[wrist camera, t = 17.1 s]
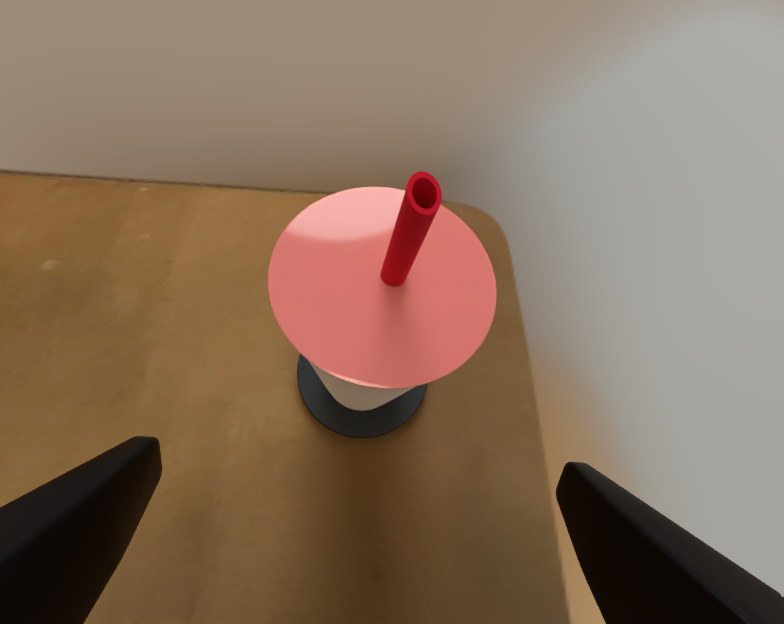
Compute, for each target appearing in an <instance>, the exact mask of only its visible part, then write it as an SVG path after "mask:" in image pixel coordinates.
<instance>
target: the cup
mask: <svg viewBox="0 0 784 624" xmlns="http://www.w3.org/2000/svg"><path fill="white" fill-rule="evenodd" d="M441 200H442V195H441V189H440V186H439V184H438V182H437V180H436V179H435V178H434V177H433V176H432V175H430V174H429V173H426V172H417V173H415V174H413V175H412V176H411V178H410V179H409V181H408V184H407V188H406V191H405V190H400V189H394V188H387V187H361V188H354V189H348V190H344V191H340V192H337V193H334V194H331V195H329V196H326V197H324V198H322V199H320V200H318V201H316V202H315V203H313V204H311V205H310V206H308V207H307V208H306V209H304V210H303V211H302V212H300V213H299V214H298V215H297V216H296V217H295V218H294V219H293V220H292V221H291V222H290V223H289V225H288V226H287V227H286V228H285V230H284V231H283V233H282V234H281V236H280V238H279V239H278V241H277V243H276V245H275V248H274V250H273V253H272V256H271V260H270V265H269V272H268V290H269V297H270V302H271V306H272V309H273V312H274V315H275V317H276V319H277V322H278V324H279V326H280V327H281V329H282V331H283V332H284V334H285V335H286V337H287V338H288V340H289V341H290V342H291V343H292V345H293V346H294V347H295V348H296V349H297V350H298V351H299V352H300V353H301V354H302V355H303V356H304V357H305V358H306V359H308V361H309V362H310V364H311V365H312V367H313V368H314V370H315V371H316V373H317V374H318V376H319V378H320V379H321V381H322V382H323V384H324V385H325V387H326V388H327V389H328V391H329V392H330V393H331V395H332V396H333V397H334V398H335V399H336V400H337V401H338V402H339V403H340V404H342V405H343V406H345V407H347V408H350V409H354V410H361V411H363V410H371V409H374V408H377V407H379V406H381V405H383V404H385V403H387V402H389V401H391V400H393V399H395V398H396V397H398V396H400V395H402V394H403V393H405V392H407V391H409V390H410V389H412V388H414V387H415V386H418V385H422V384H426V383H429V382H432V381H434V380H437V379H439V378H441V377H443V376H445V375H447V374H449V373H451V372H452V371H454V370H455V369H457V368H458V367H460V366H461V365H462V364H463V363H465V362H466V361H467V360H468V359H469V358H470V357H471V356H472V355H473V354H474V353H475V352H476V350H477V349H478V348H479V346H480V345H481V344H482V342H483V341H484V339H485V337H486V335H487V333H488V331H489V329H490V326H491V324H492V321H493V317H494V313H495V308H496V281H495V276H494V272H493V268H492V265H491V262H490V260H489V257H488V255H487V253H486V251H485V249H484V247H483V246H482V244H481V242H480V241H479V239H478V238H477V237H476V235H475V234H474V233H473V231H472V230H471V229H470V228H469V227H468V226H467V225H466V224H465V223H464V222H463V221H462V220H461V219H460V218H459V217H457V216H456V215H455V214H454V213H452V212H451V211H450V210H448V209H447V208H445V207H444V206H442V205H440V204H441Z"/></svg>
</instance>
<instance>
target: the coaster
mask: <svg viewBox="0 0 784 624" xmlns="http://www.w3.org/2000/svg"><path fill="white" fill-rule="evenodd" d="M297 378H298V385H299V390H300V393H301V396H302V399H303V401H304V403H305V405H306V407H307V408H308V410H309V411H310V412H311V414H312V415H313V416H314V417H315V418H316V419H317V420H318V421H319V422H320V423H321V424H323V425H324V426H325V427H327V428H328V429H330V430H332V431H334V432H336V433H338V434H341V435H344V436H348V437H354V438H371V437H377V436H380V435H384V434H386V433H389V432H391V431H393V430H395V429H396V428H398V427H399V426H401V425H402V424H403V423H405V422H406V421H407V420H408V419H409V418H410V417H411V416H412V415H413V414H414V412H415V411H416V410H417V408H418V407H419V405H420V403H421V401H422V399H423V396H424V393H425V391H426V386H427V383H426V384H422V385H418V386H415V387H414V388H412V389H410V390H409V391H407V392H405V393H403V394H402V395H400V396H398V397H396V398H395V399H393V400H391V401H389V402H387V403H385V404H383V405H381V406H379V407H377V408H374V409H371V410H363V411H361V410H354V409H350V408H347V407H345V406H343V405H342V404H340V403H339V402H338V401H337V400H336V399H335V398H334V397H333V396H332V395H331V393H330V392H329V391H328V389H327V388H326V387H325V385H324V384H323V382H322V381H321V379H320V378H319V376H318V374H317V373H316V371H315V370H314V368H313V367H312V365H311V364H310V362H309V361H308V359H306V358H305V357H304V356H303V355H302V354H300V357H299V361H298V369H297Z"/></svg>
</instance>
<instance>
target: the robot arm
mask: <svg viewBox="0 0 784 624" xmlns="http://www.w3.org/2000/svg"><path fill="white" fill-rule="evenodd" d="M161 473H162V463H161V454H160V444H159V441H158V439H157V438H155V437H145V436H136V437H133V438H131V439H129V440H127V441H125V442H123V443H121V444H119V445H117V446H115V447H114V448H112V449H110V450H108V451H106V452H104V453H102V454H100V455H98V456H97V457H95V458H93V459H91V460H89V461H87V462H85V463H83V464H82V465H80V466H78V467H76V468H74V469H72V470H70V471H68V472H66V473H65V474H63V475H61V476H59V477H57V478H55V479H53V480H51V481H49V482H48V483H46V484H44V485H42V486H40V487H38V488H36V489H34V490H32V491H31V492H29V493H27V494H25V495H23V496H21V497H19V498H17V499H15V500H14V501H12V502H10V503H8V504H6V505H4V506H2V507H0V624H83V623H84V622H85V620H86V618H87V617H88V615H89V613H90V612H91V610H92V608H93V607H94V605H95V603H96V602H97V600H98V598H99V597H100V595H101V593H102V591H103V590H104V588H105V586H106V585H107V583H108V581H109V580H110V578H111V576H112V575H113V573H114V571H115V570H116V568H117V566H118V564H119V563H120V561H121V559H122V557H123V555H124V553H125V551H126V549H127V547H128V545H129V543H130V541H131V539H132V537H133V535H134V533H135V531H136V529H137V526H138V524H139V522H140V520H141V518H142V516H143V514H144V512H145V510H146V508H147V505H148V503H149V501H150V499H151V497H152V495H153V493H154V491H155V489H156V487H157V484H158V482H159V480H160V477H161ZM556 497H557V501H558V504H559V507H560V510H561V513H562V515H563V518H564V521H565V524H566V527H567V530H568V533H569V535H570V538H571V541H572V544H573V547H574V550H575V552H576V555H577V558H578V561H579V563H580V566H581V568H582V571H583V573H584V576H585V578H586V580H587V583H588V585H589V587H590V589H591V592H592V594H593V596H594V598H595V600H596V603H597V605H598V607H599V609H600V611H601V614H602V616H603V618H604V620H605V622H606V624H784V597H782V596H781V595H780V593H778V592H777V591H776V590H774V589H773V588H771V587H769V586H768V585H766V584H765V583H764V582H762V581H761V580H759V579H757V578H756V577H755V576H753V575H752V574H750V573H749V572H747V571H746V570H744V569H743V568H741V567H740V566H738V565H737V564H735V563H734V562H732V561H731V560H729V559H728V558H726V557H725V556H723V555H722V554H720V553H719V552H717V551H716V550H714V549H713V548H712V547H710V546H708V545H707V544H706V543H704V542H702V541H701V540H700V539H698V538H697V537H695V536H694V535H692V534H691V533H689V532H688V531H686V530H685V529H683V528H682V527H680V526H679V525H677V524H676V523H674V522H673V521H671V520H670V519H668V518H667V517H665V516H664V515H662V514H661V513H659V512H658V511H656V510H655V509H653V508H652V507H650V506H649V505H648V504H646V503H645V502H643V501H642V500H640V499H639V498H637V497H636V496H634V495H633V494H631V493H630V492H628V491H627V490H625V489H624V488H622V487H621V486H619V485H618V484H616V483H615V482H613V481H612V480H610V479H609V478H607V477H606V476H604V475H603V474H601V473H600V472H598V471H597V470H595V469H594V468H592V467H591V466H589V465H587V464H586V463H580V462H568V463H567V464H566V465H565V466H564V469H563V472H562V474H561V477H560V480H559V483H558V485H557V488H556Z"/></svg>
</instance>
